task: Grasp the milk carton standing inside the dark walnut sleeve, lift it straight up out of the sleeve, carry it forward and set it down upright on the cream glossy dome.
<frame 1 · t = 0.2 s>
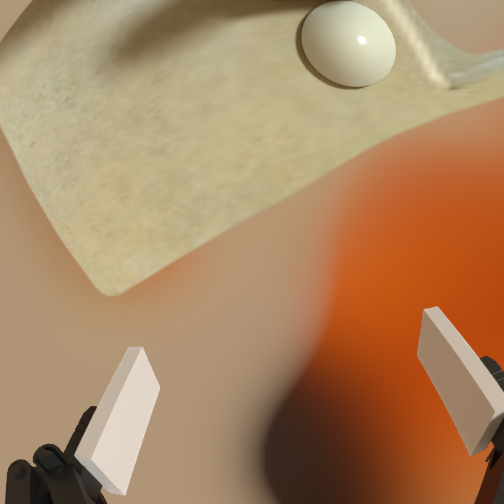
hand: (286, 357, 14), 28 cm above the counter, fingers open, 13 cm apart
cream glossy dome: (349, 42, 32), on the counter
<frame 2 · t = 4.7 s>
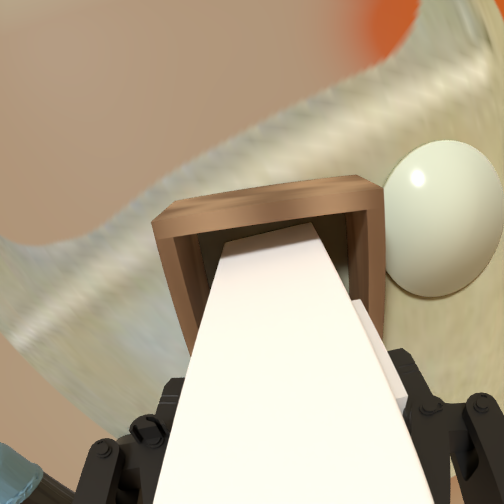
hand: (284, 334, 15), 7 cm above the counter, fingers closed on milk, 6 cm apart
cream glossy dome: (445, 221, 21), on the counter
milk: (277, 270, 23), resting in sleeve, touching gripper
sleeve: (277, 271, 22), on the counter
when the fingers open (10 cm above the counter, at t = 10.3 s): milk drops 2 cm, resting on cream glossy dome.
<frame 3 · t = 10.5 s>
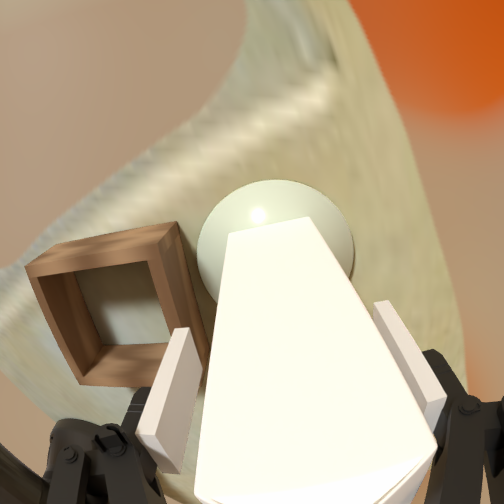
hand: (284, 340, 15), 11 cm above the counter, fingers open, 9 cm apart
cream glossy dome: (275, 256, 25), on the counter
milk: (276, 260, 24), point 1 cm above the counter, touching cream glossy dome
sleeve: (129, 298, 27), on the counter
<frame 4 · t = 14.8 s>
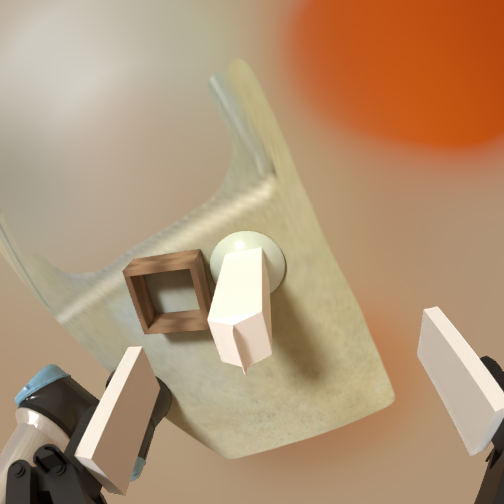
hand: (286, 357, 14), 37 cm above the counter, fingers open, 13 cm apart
cream glossy dome: (247, 266, 52), on the counter
milk: (247, 267, 52), resting on cream glossy dome
sleeve: (174, 286, 54), on the counter
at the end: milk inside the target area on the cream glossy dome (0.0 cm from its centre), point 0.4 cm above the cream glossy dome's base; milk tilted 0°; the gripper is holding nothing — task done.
